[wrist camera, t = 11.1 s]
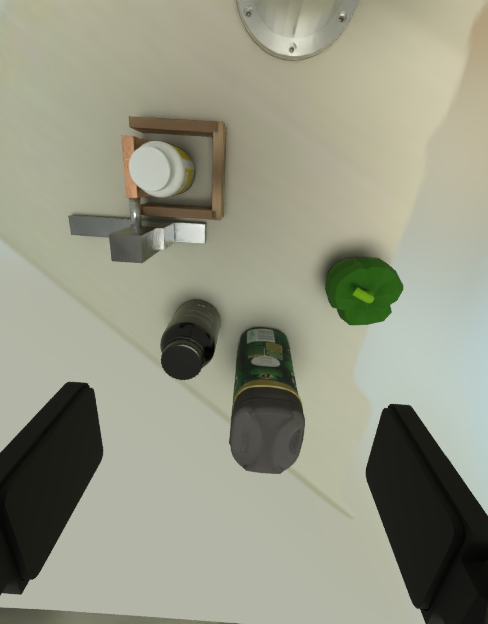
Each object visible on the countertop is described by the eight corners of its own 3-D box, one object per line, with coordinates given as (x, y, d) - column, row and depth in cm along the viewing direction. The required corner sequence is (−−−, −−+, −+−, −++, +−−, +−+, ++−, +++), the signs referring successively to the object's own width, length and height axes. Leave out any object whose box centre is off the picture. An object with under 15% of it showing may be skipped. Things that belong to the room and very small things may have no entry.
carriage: (139, 141, 37) (90, 124, 26) (174, 143, 37) (139, 127, 26) (146, 239, 42) (105, 260, 31) (176, 241, 42) (147, 263, 31)
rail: (73, 214, 41) (68, 215, 40) (206, 223, 41) (204, 224, 40) (76, 233, 42) (71, 234, 41) (205, 241, 42) (204, 243, 41)
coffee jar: (284, 382, 50) (299, 486, 33) (235, 378, 50) (224, 479, 33) (293, 327, 47) (314, 413, 29) (239, 323, 47) (230, 406, 29)
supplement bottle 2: (212, 346, 48) (199, 396, 37) (169, 331, 48) (143, 377, 36) (228, 308, 46) (219, 349, 35) (183, 291, 45) (159, 327, 34)
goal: (141, 122, 37) (128, 116, 33) (226, 127, 37) (222, 122, 33) (146, 211, 41) (135, 214, 37) (223, 216, 41) (220, 220, 37)
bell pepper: (392, 281, 43) (429, 309, 34) (342, 316, 46) (363, 350, 36) (359, 233, 41) (390, 249, 32) (308, 272, 43) (322, 297, 34)
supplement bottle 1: (146, 151, 38) (113, 142, 29) (189, 142, 38) (169, 130, 29) (159, 198, 40) (131, 203, 31) (200, 190, 40) (184, 193, 31)
